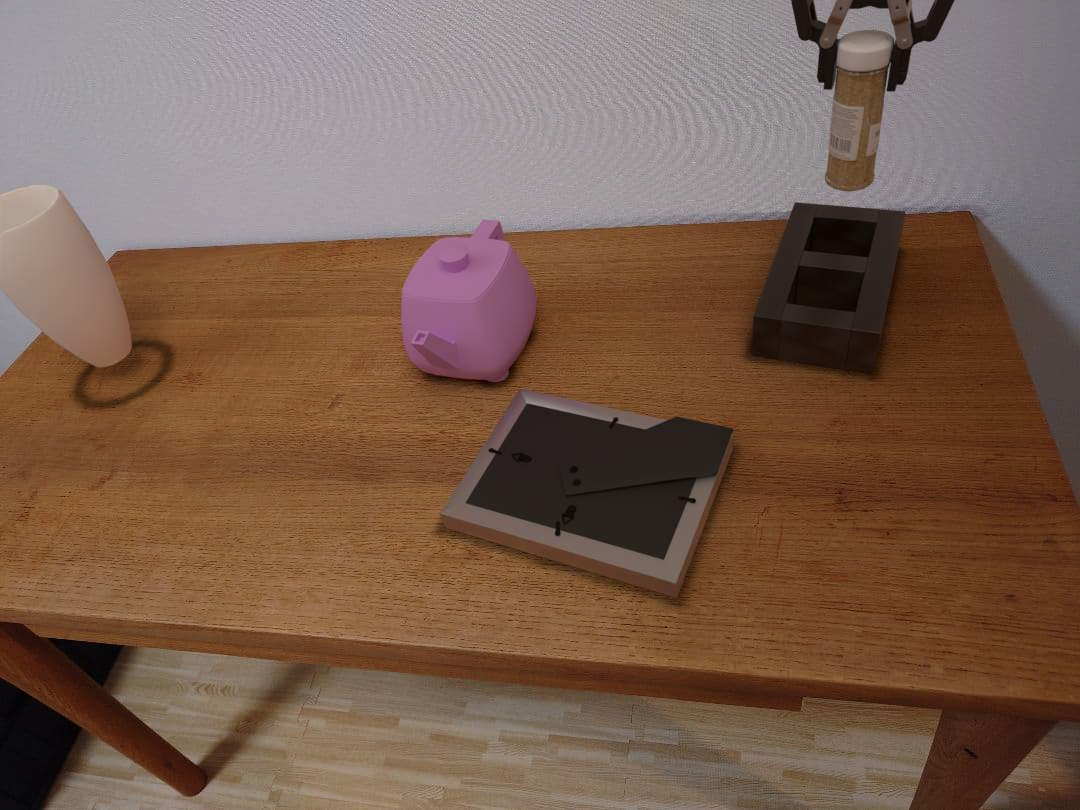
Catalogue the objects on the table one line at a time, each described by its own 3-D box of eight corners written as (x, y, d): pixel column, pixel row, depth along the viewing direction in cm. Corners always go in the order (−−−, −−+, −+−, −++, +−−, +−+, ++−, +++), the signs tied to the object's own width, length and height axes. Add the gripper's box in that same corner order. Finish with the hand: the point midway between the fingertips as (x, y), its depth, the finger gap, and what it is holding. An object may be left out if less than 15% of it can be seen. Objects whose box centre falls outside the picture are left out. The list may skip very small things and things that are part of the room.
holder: (898, 251, 86) (905, 211, 83) (873, 374, 74) (880, 333, 71) (791, 240, 91) (794, 202, 87) (751, 355, 79) (753, 316, 75)
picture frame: (732, 450, 71) (523, 403, 79) (733, 428, 69) (518, 382, 77) (677, 598, 61) (445, 528, 69) (675, 578, 59) (437, 508, 67)
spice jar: (883, 185, 76) (906, 40, 66) (839, 198, 75) (856, 54, 66) (856, 164, 79) (875, 23, 70) (814, 176, 79) (827, 36, 69)
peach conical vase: (60, 393, 91) (-69, 233, 76) (127, 336, 98) (20, 177, 83) (122, 413, 87) (-2, 247, 72) (188, 351, 93) (86, 187, 78)
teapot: (461, 290, 94) (434, 194, 85) (562, 298, 90) (545, 199, 81) (386, 411, 81) (346, 313, 72) (500, 428, 77) (472, 326, 68)
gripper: (779, -119, 59) (768, 103, 71) (996, -134, 54) (946, 109, 66) (798, -146, 64) (786, 67, 76) (1000, -163, 58) (953, 70, 70)
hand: (860, 86), depth 71 cm, fingers closed on spice jar, 4 cm apart
